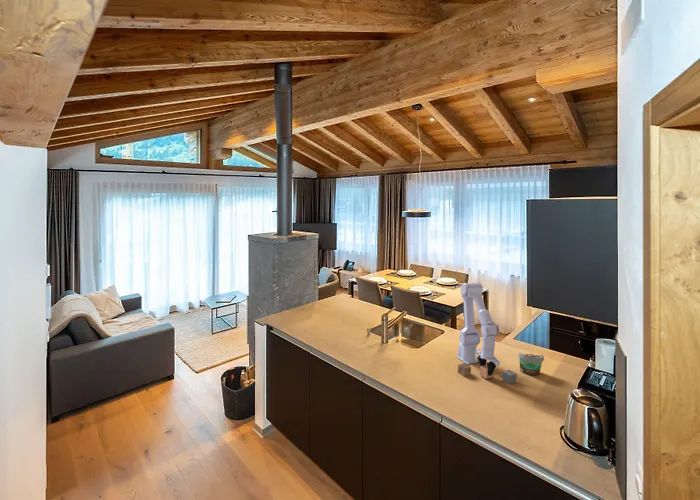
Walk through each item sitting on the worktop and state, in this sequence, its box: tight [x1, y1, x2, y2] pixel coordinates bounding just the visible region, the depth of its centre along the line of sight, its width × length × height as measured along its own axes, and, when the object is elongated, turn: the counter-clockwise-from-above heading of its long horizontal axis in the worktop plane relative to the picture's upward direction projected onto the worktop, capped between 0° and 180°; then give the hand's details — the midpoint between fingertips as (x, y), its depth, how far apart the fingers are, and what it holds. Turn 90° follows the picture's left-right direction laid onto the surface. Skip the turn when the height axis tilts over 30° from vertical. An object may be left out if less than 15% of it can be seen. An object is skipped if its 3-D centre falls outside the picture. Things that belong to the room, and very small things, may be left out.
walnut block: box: [457, 362, 472, 377], centre depth 181 cm, size 4×4×4 cm
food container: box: [517, 352, 545, 377], centre depth 180 cm, size 12×6×10 cm, turn 81°
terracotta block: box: [479, 364, 494, 379], centre depth 177 cm, size 4×4×4 cm
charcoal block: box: [501, 369, 518, 385], centre depth 174 cm, size 4×4×4 cm
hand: (486, 372), depth 178 cm, fingers closed on terracotta block, 4 cm apart
